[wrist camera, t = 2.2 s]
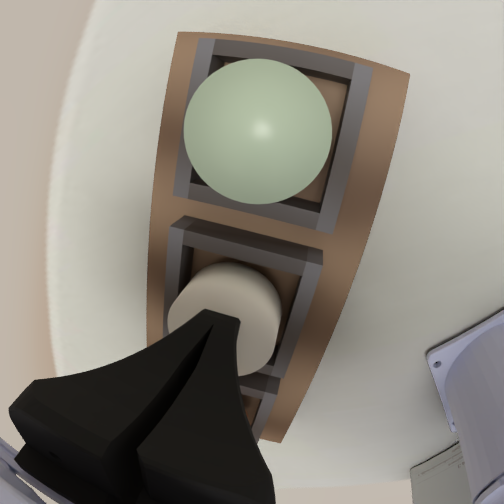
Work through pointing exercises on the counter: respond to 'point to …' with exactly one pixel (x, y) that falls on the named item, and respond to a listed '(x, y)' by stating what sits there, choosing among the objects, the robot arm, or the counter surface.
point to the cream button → (234, 308)
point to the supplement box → (441, 479)
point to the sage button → (257, 131)
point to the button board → (275, 211)
